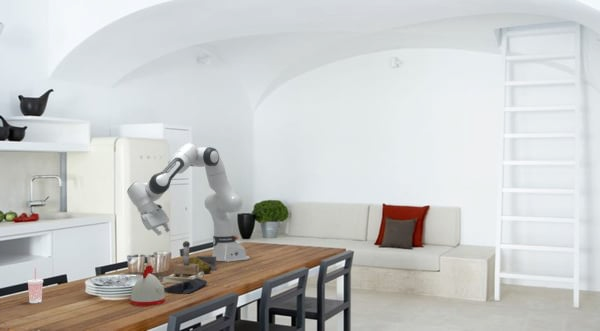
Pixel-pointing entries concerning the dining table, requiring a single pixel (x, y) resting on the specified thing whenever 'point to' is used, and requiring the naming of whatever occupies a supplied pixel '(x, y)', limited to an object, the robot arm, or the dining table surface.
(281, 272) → the dining table surface
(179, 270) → the wooden knobbed block
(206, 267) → the olive green rounded lump
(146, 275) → the grey and red dome
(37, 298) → the beverage cup
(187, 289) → the dark slate chunk
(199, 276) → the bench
